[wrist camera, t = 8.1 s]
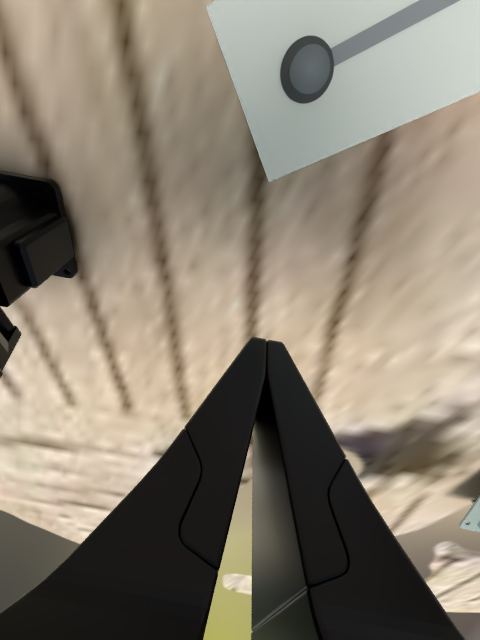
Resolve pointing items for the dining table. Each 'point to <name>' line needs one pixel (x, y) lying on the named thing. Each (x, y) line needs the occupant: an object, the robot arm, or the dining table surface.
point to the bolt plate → (343, 69)
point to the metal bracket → (472, 517)
